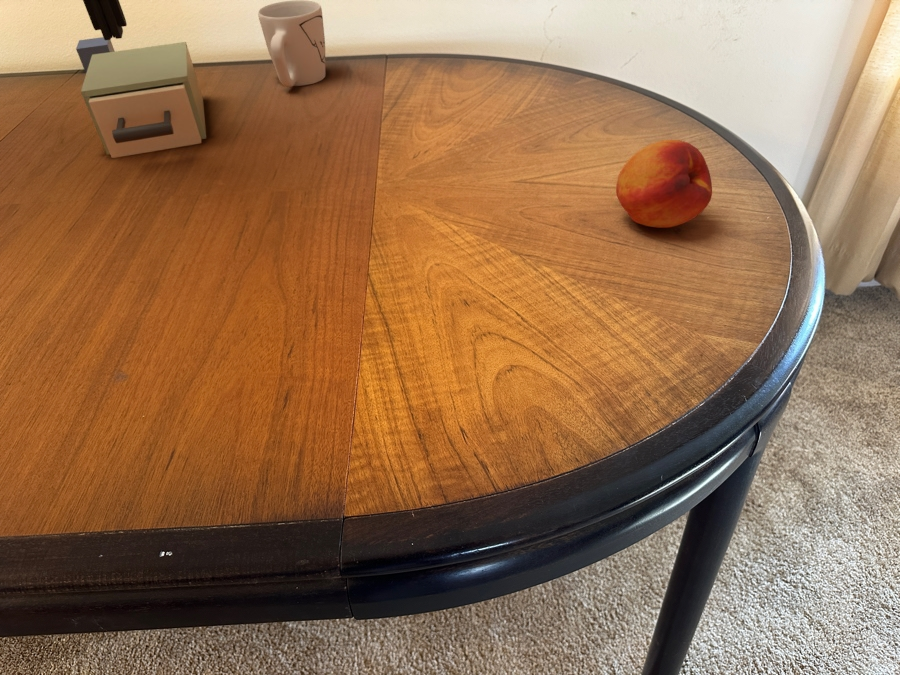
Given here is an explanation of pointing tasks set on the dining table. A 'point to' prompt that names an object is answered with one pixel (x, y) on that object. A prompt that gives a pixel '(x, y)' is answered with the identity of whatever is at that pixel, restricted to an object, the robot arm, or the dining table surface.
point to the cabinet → (143, 76)
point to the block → (92, 49)
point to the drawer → (145, 120)
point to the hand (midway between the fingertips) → (114, 35)
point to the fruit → (665, 184)
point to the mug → (295, 40)
